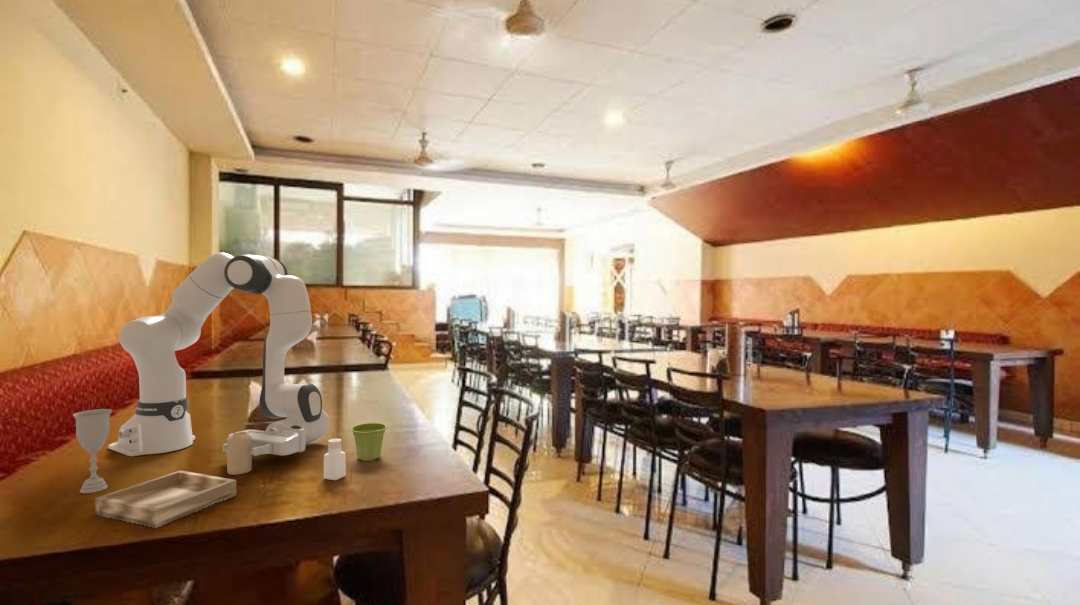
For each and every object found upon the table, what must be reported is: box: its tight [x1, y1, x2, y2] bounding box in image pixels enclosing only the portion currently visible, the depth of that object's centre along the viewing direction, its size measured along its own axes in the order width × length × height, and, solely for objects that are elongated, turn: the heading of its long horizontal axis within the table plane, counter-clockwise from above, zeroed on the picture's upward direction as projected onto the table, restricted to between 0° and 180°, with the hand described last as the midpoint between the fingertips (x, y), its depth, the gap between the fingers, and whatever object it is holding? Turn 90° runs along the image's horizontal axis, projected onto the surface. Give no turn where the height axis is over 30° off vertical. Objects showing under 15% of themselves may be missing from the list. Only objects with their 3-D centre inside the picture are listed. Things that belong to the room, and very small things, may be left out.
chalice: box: [72, 408, 113, 494], centre depth 123 cm, size 7×7×18 cm
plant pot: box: [350, 422, 388, 462], centre depth 147 cm, size 9×9×9 cm
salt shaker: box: [323, 438, 347, 481], centre depth 132 cm, size 4×4×10 cm
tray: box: [94, 469, 237, 530], centre depth 115 cm, size 18×18×4 cm
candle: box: [226, 431, 253, 476], centre depth 136 cm, size 6×6×10 cm
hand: (238, 450), depth 135 cm, fingers open, 8 cm apart
